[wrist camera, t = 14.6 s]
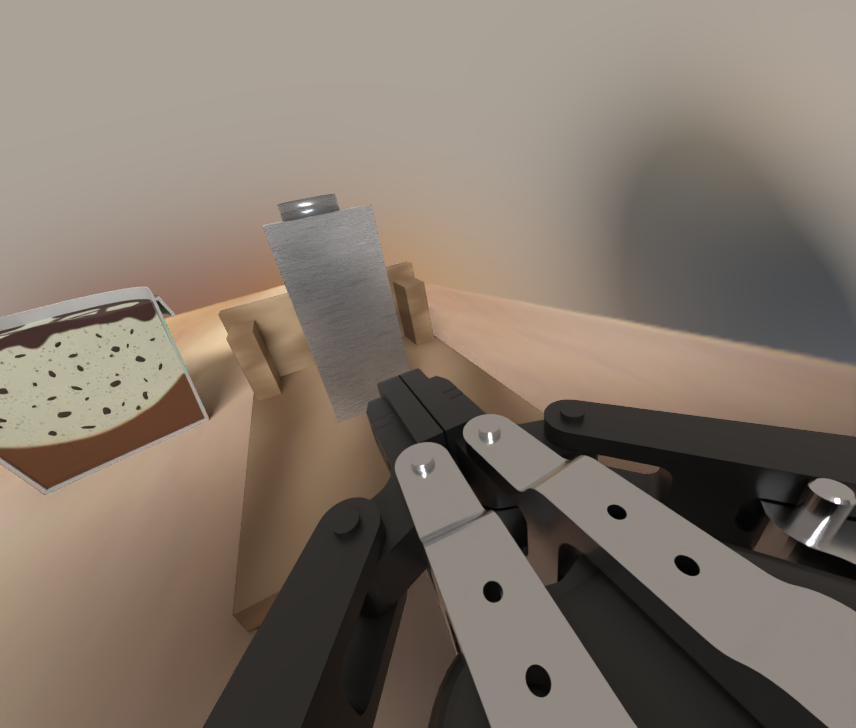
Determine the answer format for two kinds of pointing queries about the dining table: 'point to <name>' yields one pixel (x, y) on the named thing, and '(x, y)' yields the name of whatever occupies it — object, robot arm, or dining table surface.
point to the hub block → (340, 297)
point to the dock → (321, 432)
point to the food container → (90, 386)
